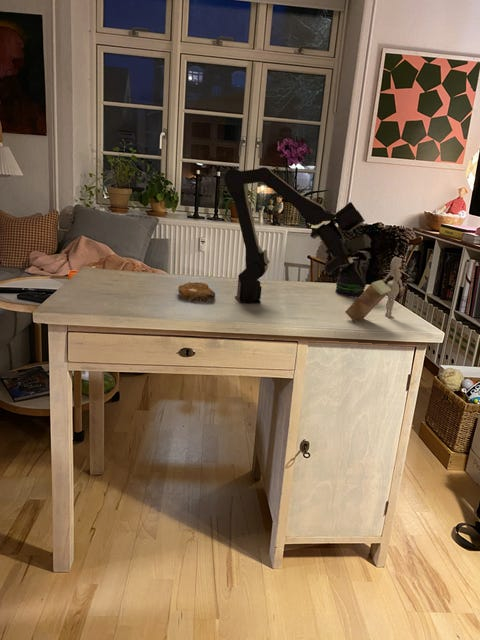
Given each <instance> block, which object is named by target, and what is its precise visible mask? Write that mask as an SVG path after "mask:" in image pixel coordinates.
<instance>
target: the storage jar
mask: <svg viewBox="0 0 480 640" xmlns="http://www.w3.org/2000/svg"><path fill="white" fill-rule="evenodd" d="M361 251H362V250H361V249H360V250H358V252H361ZM367 252H368V253H369V255H370V256H371V253H370V252H369V251H367ZM369 264H370V258H369V259H368V260H367V261H365V262H364V263H363V264H362V267H361V269H362V273H363V276H364V280H365V283H366V281H367V280H366V276H367V270H368V268H369ZM340 268H341V267H339V270H338V271H339V272H340V271H341V269H340ZM339 272H338V273H339ZM365 290H366V286H365V287H364V288H361V287H360V286H358V285H357V284H355V283H353V282H352V281H350V280H348V279H347V278H345V277H343V276H341V275H339V274H338V276H337V279H336V289H335V294H337V295H339V296H341V297H342V296H343V297H349V298H358V297H359V296H360V295H361V294H362V293H363V292H364V291H365Z"/></svg>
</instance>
